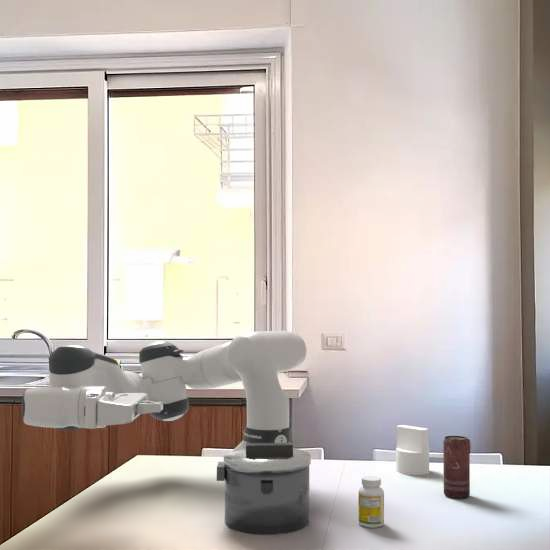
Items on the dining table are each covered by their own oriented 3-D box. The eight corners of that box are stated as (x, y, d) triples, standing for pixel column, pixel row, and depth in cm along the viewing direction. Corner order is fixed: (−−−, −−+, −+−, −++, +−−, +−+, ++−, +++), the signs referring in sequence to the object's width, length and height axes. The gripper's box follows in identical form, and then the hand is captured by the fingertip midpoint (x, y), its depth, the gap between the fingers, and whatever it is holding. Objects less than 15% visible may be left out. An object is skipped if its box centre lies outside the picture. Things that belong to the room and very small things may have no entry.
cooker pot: (212, 538, 140) (213, 477, 140) (221, 504, 163) (221, 452, 163) (312, 539, 140) (312, 478, 140) (306, 505, 163) (306, 452, 164)
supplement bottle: (375, 530, 145) (374, 482, 146) (353, 524, 149) (353, 478, 149) (389, 523, 150) (388, 477, 150) (367, 518, 153) (367, 473, 153)
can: (471, 500, 168) (471, 440, 168) (444, 498, 169) (443, 439, 169) (470, 493, 174) (469, 435, 174) (443, 491, 175) (443, 434, 175)
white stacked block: (435, 471, 196) (435, 427, 197) (416, 476, 190) (416, 431, 190) (408, 465, 203) (408, 423, 203) (389, 471, 196) (389, 427, 197)
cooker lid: (220, 474, 142) (220, 454, 143) (226, 454, 161) (226, 436, 161) (313, 472, 143) (312, 452, 143) (308, 452, 161) (308, 435, 161)
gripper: (108, 414, 162) (169, 414, 162) (84, 430, 142) (154, 430, 142) (108, 386, 163) (169, 386, 163) (85, 398, 142) (154, 398, 142)
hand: (162, 407), depth 152 cm, fingers closed
